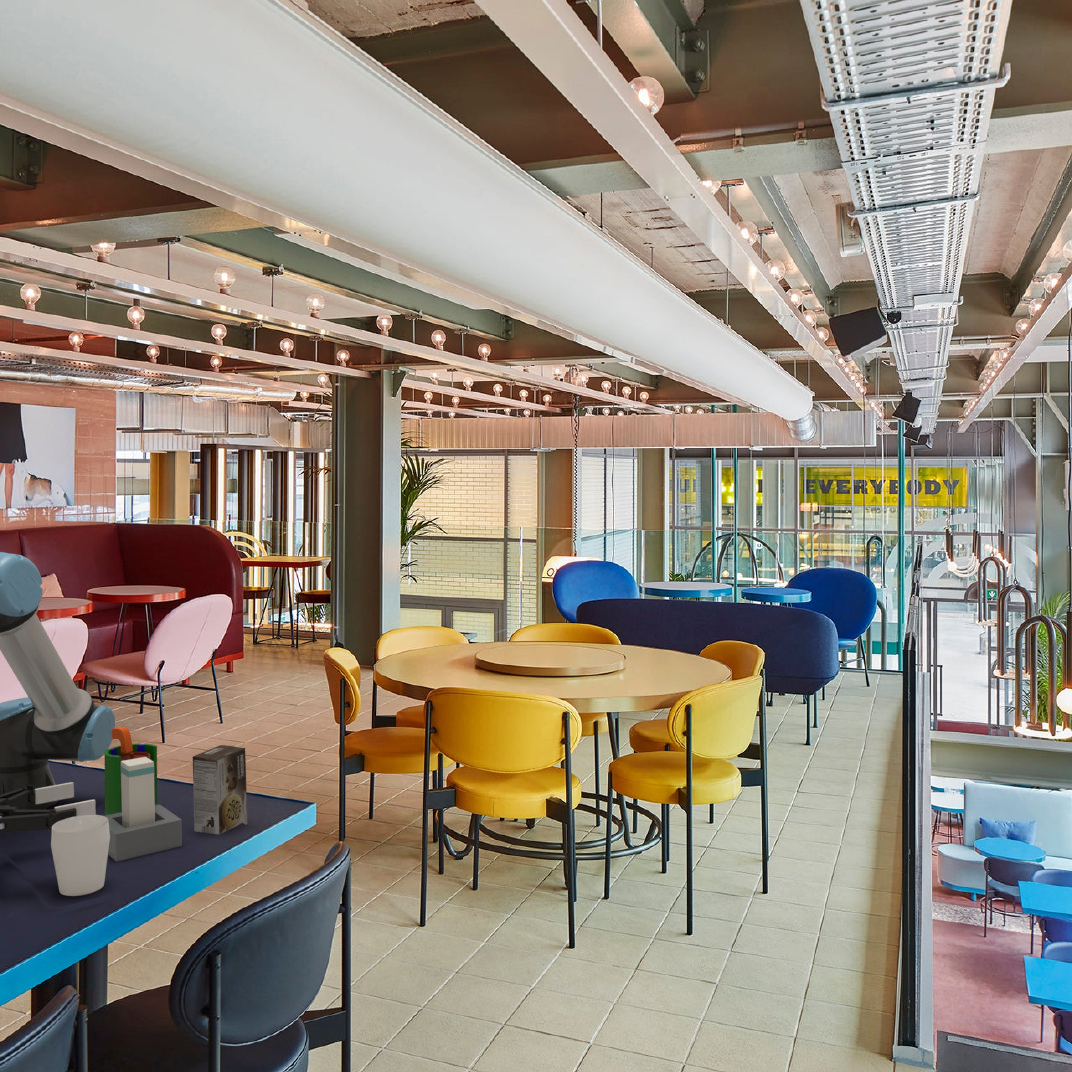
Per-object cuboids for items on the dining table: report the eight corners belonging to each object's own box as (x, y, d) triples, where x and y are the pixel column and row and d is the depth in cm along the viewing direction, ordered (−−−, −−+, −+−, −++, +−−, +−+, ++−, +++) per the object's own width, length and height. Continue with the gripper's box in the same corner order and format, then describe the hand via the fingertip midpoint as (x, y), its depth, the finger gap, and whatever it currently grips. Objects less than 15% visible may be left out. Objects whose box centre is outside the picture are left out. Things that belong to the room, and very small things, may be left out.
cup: (66, 909, 156) (64, 836, 156) (43, 894, 162) (41, 824, 162) (120, 891, 163) (119, 822, 163) (96, 878, 169) (94, 811, 169)
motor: (134, 835, 190) (131, 736, 189) (94, 832, 192) (91, 734, 191) (163, 818, 200) (161, 723, 199) (125, 816, 202) (123, 722, 201)
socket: (96, 848, 183) (95, 817, 183) (160, 833, 191) (159, 804, 191) (116, 867, 174) (115, 834, 174) (182, 850, 182) (181, 819, 182)
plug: (122, 844, 183) (120, 761, 182) (147, 838, 186) (145, 756, 185) (130, 851, 179) (128, 766, 178) (156, 844, 182) (154, 761, 182)
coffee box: (222, 821, 198) (220, 744, 198) (248, 824, 196) (247, 746, 195) (192, 836, 190) (190, 755, 189) (219, 840, 188) (218, 758, 187)
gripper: (-63, 826, 172) (65, 801, 185) (-36, 867, 153) (105, 836, 166) (-64, 785, 171) (64, 763, 185) (-37, 821, 152) (104, 794, 166)
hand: (84, 798), depth 176 cm, fingers open, 13 cm apart
